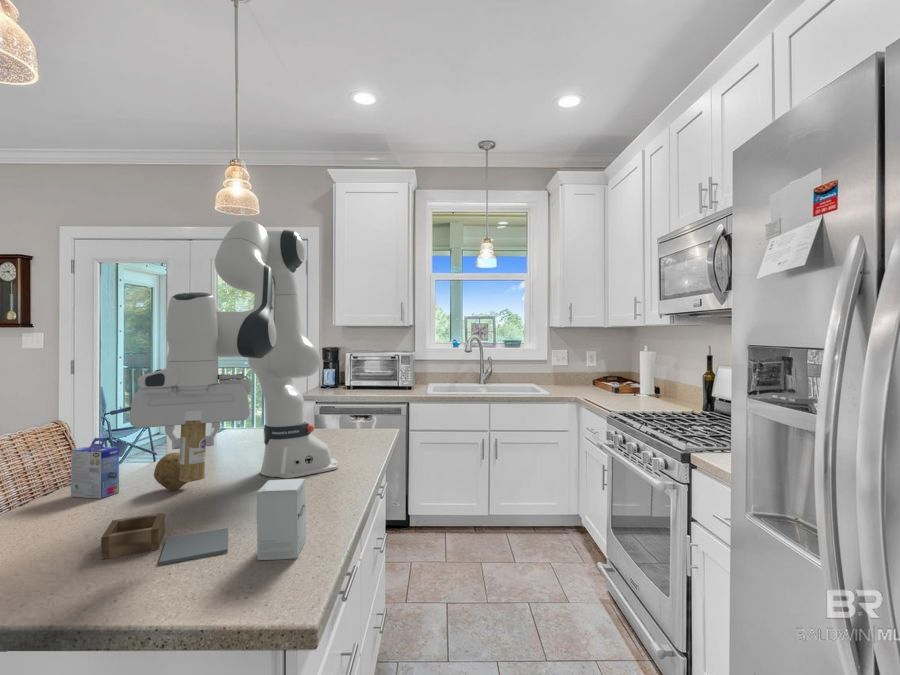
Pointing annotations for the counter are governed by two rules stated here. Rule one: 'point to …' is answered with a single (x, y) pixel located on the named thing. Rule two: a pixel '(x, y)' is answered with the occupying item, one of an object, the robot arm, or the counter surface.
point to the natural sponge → (169, 472)
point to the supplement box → (281, 519)
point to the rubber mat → (194, 546)
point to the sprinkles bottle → (192, 447)
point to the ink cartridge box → (95, 471)
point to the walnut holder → (133, 535)
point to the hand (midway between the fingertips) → (193, 446)
